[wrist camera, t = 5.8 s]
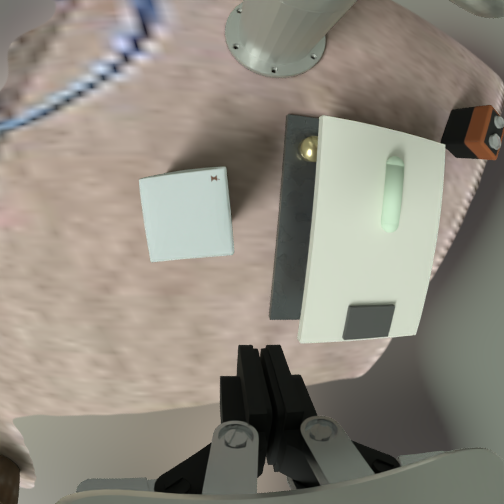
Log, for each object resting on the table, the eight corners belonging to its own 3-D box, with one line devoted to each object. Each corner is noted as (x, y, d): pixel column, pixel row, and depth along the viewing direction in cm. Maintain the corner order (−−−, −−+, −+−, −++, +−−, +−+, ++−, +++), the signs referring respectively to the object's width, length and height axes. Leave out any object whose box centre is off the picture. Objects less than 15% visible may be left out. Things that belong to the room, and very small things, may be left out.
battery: (438, 143, 38) (485, 142, 28) (450, 108, 36) (495, 102, 27) (456, 159, 38) (501, 162, 29) (467, 125, 37) (511, 122, 28)
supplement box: (163, 172, 35) (136, 175, 23) (225, 166, 36) (229, 164, 24) (169, 233, 37) (148, 264, 25) (230, 226, 38) (236, 255, 26)
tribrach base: (286, 115, 35) (297, 107, 29) (420, 142, 37) (444, 141, 32) (268, 316, 41) (275, 336, 36) (394, 312, 44) (412, 329, 39)
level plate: (315, 119, 30) (330, 111, 26) (433, 145, 32) (456, 144, 28) (294, 333, 35) (304, 352, 31) (406, 327, 37) (423, 341, 33)
